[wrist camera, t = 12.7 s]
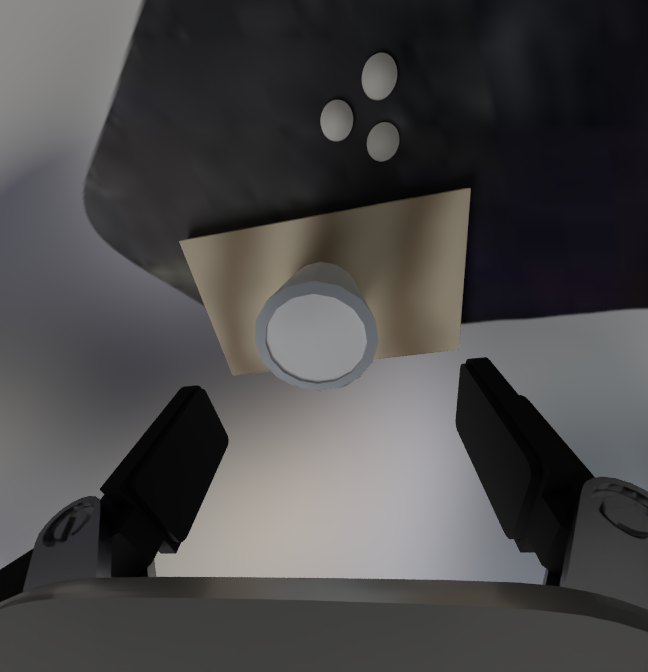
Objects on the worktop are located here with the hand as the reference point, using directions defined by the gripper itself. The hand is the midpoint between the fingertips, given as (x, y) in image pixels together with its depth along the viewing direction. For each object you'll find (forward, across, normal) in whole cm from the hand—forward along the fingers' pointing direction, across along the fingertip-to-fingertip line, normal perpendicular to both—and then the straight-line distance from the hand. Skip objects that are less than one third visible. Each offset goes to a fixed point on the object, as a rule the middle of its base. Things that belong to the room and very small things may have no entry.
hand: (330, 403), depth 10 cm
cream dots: (+14, -3, -10) cm, 17 cm away
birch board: (+13, +1, +1) cm, 13 cm away
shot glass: (+12, +1, 0) cm, 12 cm away
